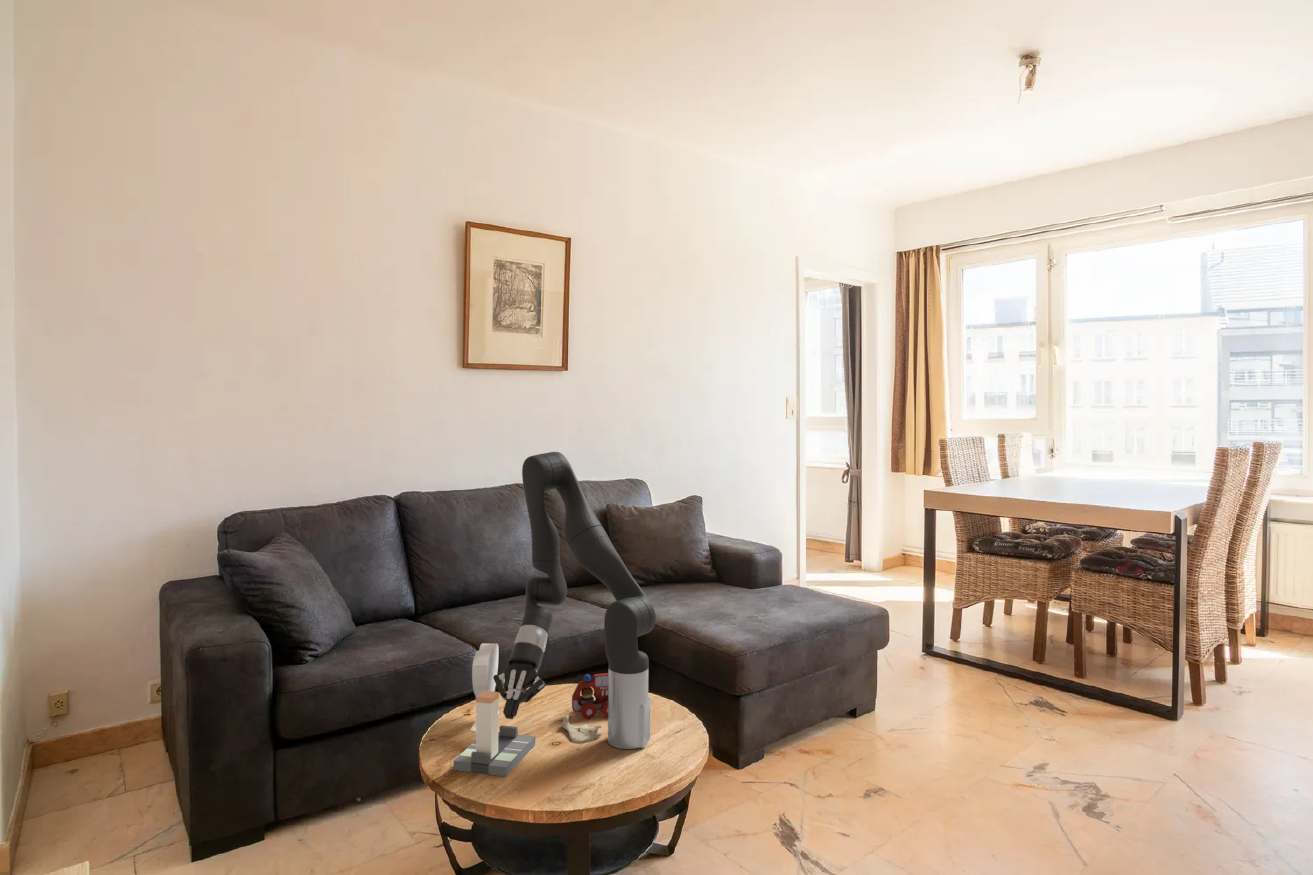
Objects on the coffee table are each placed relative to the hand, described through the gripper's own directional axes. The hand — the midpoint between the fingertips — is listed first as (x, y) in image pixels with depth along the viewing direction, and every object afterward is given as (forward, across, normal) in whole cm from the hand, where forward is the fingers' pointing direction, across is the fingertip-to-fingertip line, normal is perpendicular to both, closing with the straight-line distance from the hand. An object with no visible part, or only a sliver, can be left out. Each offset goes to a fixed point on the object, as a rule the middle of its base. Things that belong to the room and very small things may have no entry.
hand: (508, 717), depth 176 cm
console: (+9, 0, 0) cm, 9 cm away
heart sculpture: (-4, -11, +13) cm, 17 cm away
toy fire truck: (-11, +14, +20) cm, 27 cm away
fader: (+11, 0, -5) cm, 12 cm away
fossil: (-2, +14, +12) cm, 18 cm away
